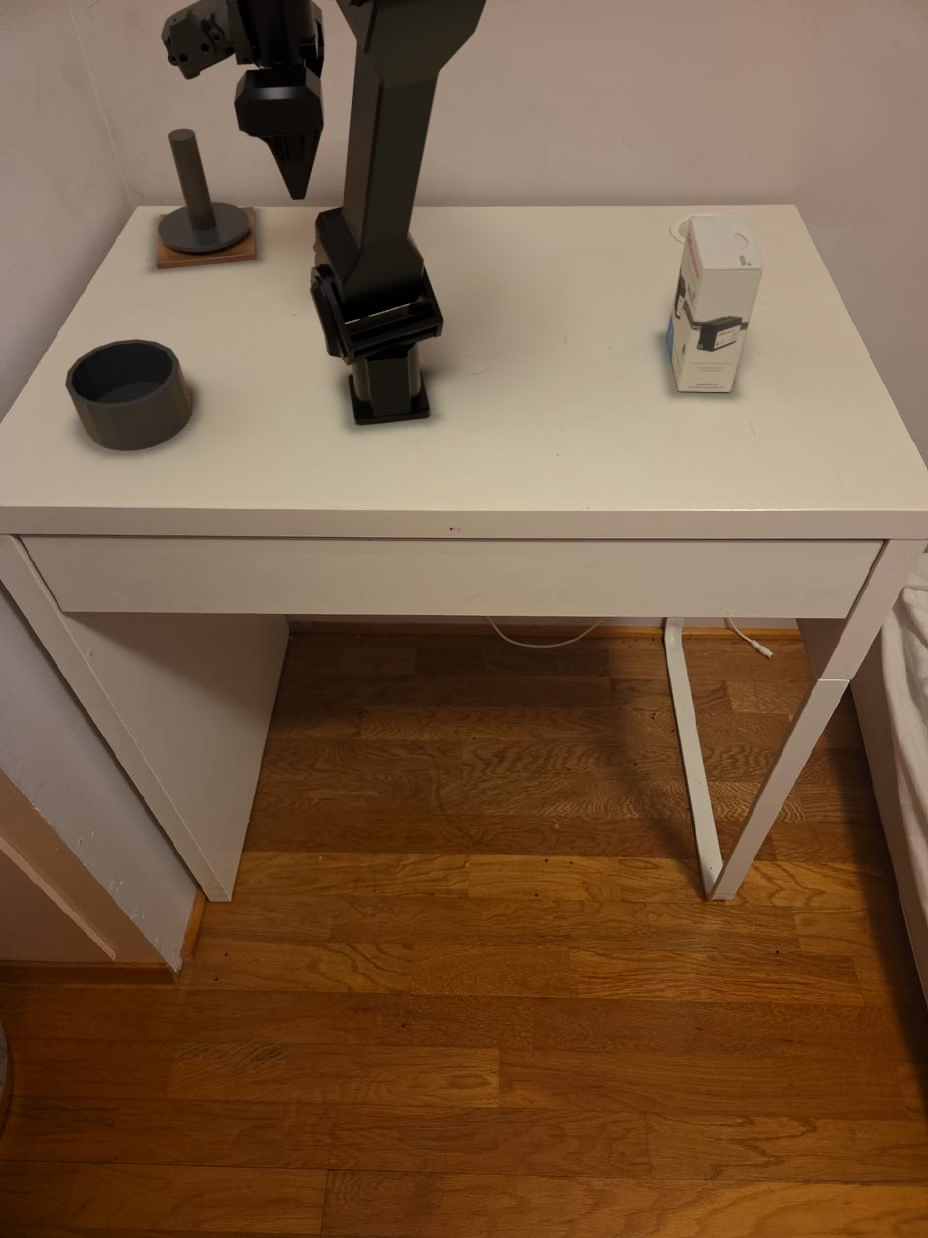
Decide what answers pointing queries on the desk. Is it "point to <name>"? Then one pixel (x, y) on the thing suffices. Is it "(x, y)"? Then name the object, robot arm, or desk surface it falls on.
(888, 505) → the desk surface
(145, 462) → the desk surface
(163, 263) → the plate
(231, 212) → the lid
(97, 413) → the bowl
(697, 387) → the ink box
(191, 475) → the desk surface
